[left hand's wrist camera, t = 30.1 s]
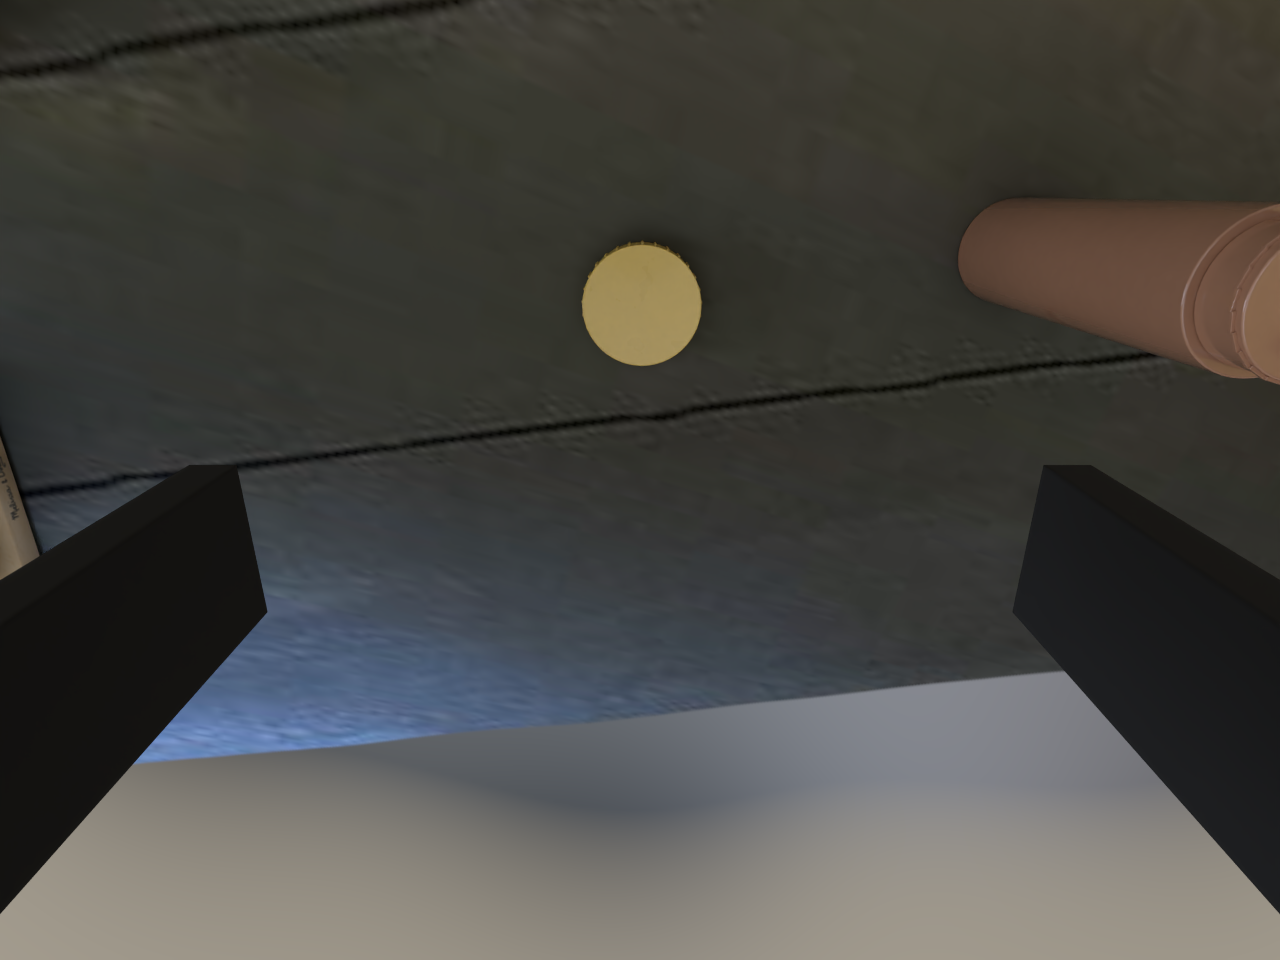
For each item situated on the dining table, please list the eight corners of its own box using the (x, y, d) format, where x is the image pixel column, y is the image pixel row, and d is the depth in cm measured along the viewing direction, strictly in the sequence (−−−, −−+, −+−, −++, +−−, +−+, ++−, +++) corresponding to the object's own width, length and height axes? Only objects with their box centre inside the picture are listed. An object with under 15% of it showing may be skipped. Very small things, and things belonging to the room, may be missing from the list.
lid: (660, 379, 42) (661, 389, 40) (563, 320, 41) (558, 327, 39) (721, 281, 40) (726, 286, 38) (621, 216, 39) (620, 218, 37)
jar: (984, 184, 38) (1300, 177, 20) (1078, 214, 39) (1470, 235, 20) (941, 287, 40) (1193, 367, 22) (1031, 314, 41) (1351, 415, 22)
